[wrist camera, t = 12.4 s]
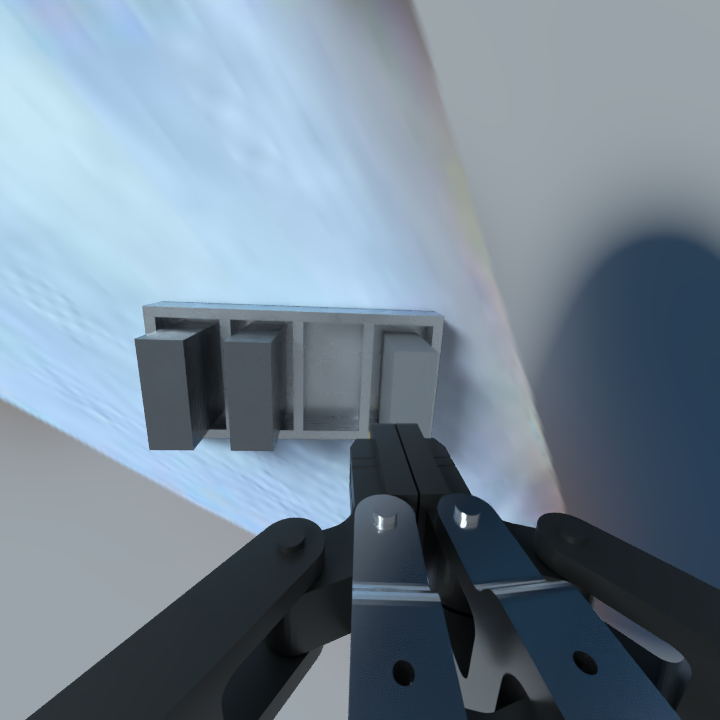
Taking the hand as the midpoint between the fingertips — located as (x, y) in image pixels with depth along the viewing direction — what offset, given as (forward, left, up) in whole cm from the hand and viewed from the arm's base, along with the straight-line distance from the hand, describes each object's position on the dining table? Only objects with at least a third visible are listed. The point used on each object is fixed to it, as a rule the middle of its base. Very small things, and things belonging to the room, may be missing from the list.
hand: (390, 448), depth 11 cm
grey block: (+4, +4, -19) cm, 20 cm away
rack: (+3, -5, -20) cm, 21 cm away
